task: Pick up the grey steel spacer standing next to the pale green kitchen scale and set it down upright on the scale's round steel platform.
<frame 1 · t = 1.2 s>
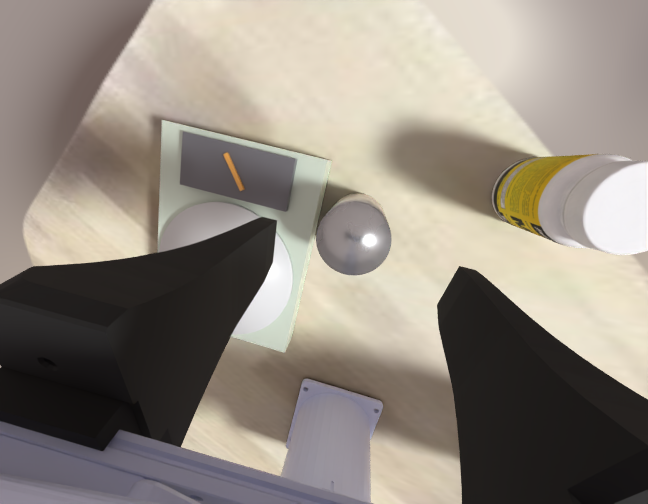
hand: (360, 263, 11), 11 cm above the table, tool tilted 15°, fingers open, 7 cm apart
supplement bottle: (524, 192, 20), on the table
spacer: (356, 221, 22), on the table
scale: (243, 239, 24), on the table
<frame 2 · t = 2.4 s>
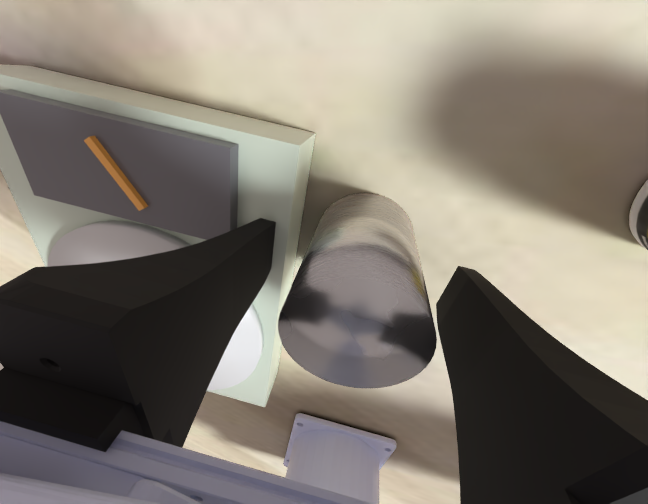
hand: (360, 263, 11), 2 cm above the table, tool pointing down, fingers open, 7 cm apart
spacer: (363, 238, 13), on the table
scale: (187, 260, 15), on the table
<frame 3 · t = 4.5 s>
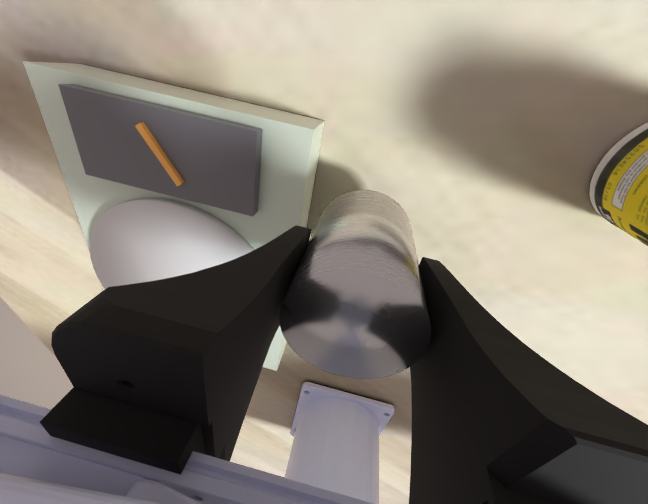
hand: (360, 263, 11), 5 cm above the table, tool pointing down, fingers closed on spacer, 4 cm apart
spacer: (362, 234, 13), point 2 cm above the table, touching gripper
scale: (208, 236, 17), on the table
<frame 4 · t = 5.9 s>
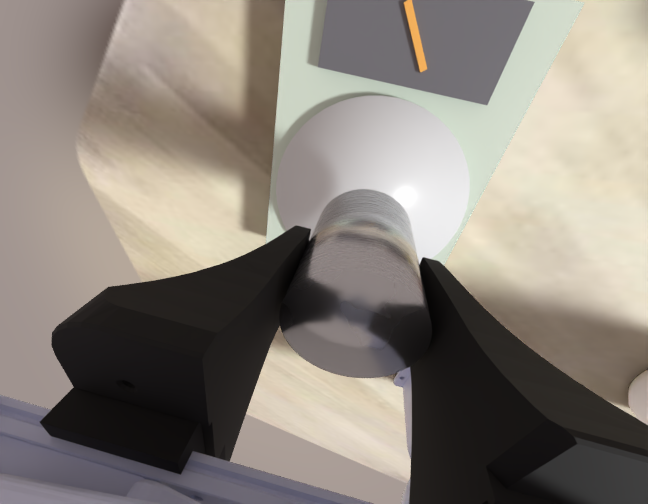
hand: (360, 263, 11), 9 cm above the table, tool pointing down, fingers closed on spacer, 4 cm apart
spacer: (362, 234, 13), point 7 cm above the table, touching gripper
scale: (377, 156, 18), on the table
when the fingers open (6 cm above the table, at t = 7.5 s): spacer stays where it is, resting on scale.
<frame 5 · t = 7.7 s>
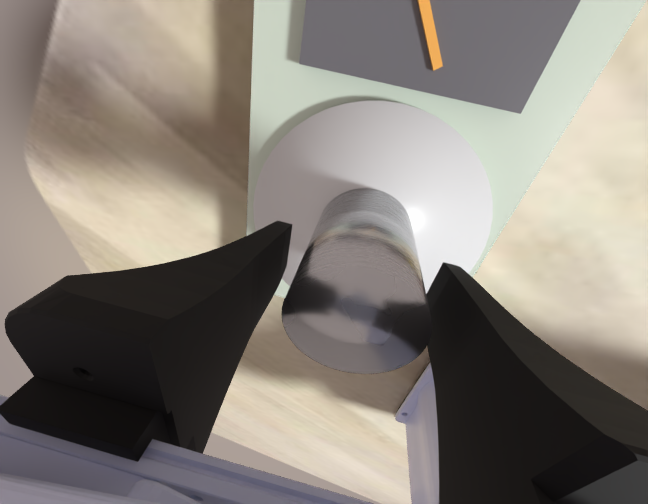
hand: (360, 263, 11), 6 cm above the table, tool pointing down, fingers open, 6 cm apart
spacer: (363, 232, 13), point 3 cm above the table, touching scale
scale: (376, 173, 15), on the table
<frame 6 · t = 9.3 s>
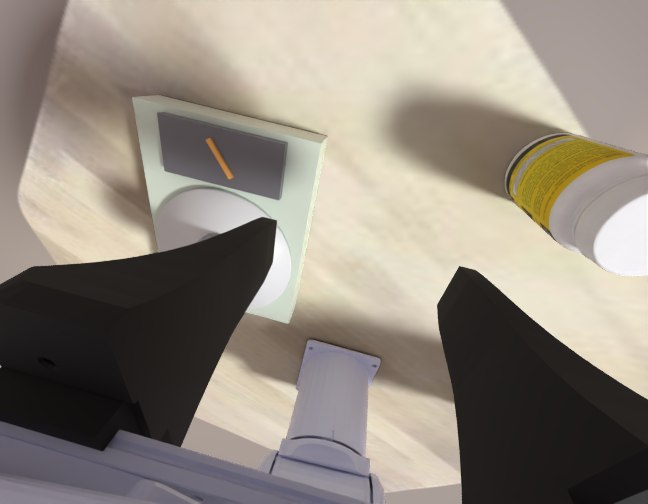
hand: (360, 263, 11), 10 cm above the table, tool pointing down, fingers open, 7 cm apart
supplement bottle: (543, 171, 18), on the table
scale: (239, 219, 23), on the table
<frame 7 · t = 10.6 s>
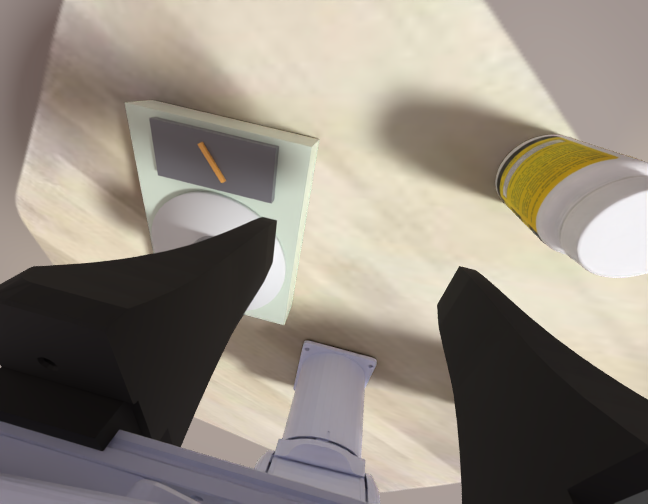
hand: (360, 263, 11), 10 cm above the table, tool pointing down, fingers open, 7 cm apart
supplement bottle: (534, 172, 18), on the table
scale: (234, 221, 23), on the table
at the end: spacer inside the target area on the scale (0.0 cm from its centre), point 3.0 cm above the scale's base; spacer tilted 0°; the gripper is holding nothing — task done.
